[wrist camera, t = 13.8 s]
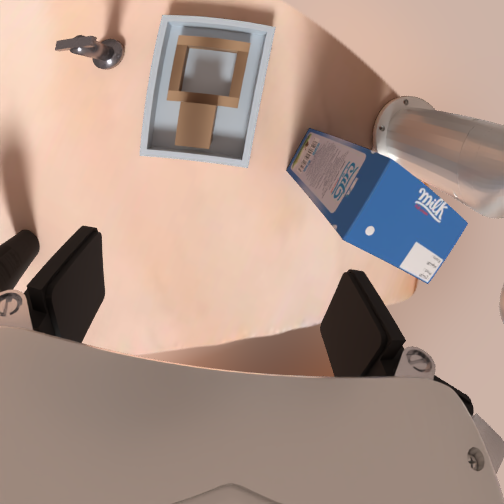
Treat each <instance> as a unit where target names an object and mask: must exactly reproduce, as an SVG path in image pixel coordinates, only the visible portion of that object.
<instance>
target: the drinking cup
mask: <svg viewBox="0 0 504 504" xmlns="http://www.w3.org/2000/svg"><path fill="white" fill-rule="evenodd" d="M38 252H39V242H38V240H37V238H36V236H35V235H34V234H33V233H32V232H30V231H28V230H23V231H21V232H20V233H18V234H16V235H15V236H13V237H12V238H11V239H9V240H8V241H6V242H5V243H3V244H2V245H0V292H3V291H6V290H13V289H14V287H15V285H16V284H17V282H18V281H19V279H20V278H21V277H22V275H23V274H24V272H25V271H26V269H27V268H28V266H29V265H30V264H31V262H32V261H33V259H34V258H35V257H36V255H37V254H38Z"/></svg>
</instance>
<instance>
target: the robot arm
mask: <svg viewBox="0 0 504 504" xmlns="http://www.w3.org/2000/svg"><path fill="white" fill-rule="evenodd" d="M403 101H404V103H403ZM379 127H380V129H379ZM373 146H374V151H375V152H377V153H379V154H381V155H384V156H386V157H389V158H391V159H393V160H394V161H395V162H397V163H398V164H399V165H401V166H402V167H403V168H405V169H406V170H407V171H408V172H410V173H411V174H412V175H414V176H415V177H416V178H417V179H419V180H420V181H424V182H426V183H428V184H430V185H432V186H434V187H435V188H437V189H439V190H441V191H443V192H445V193H446V194H448V195H450V196H451V197H453V198H455V199H457V200H458V201H460V202H461V203H463V204H465V205H466V206H468V207H470V208H471V209H473V210H474V211H476V212H478V213H480V214H481V215H484V216H486V217H489V218H503V217H504V125H501V124H497V123H493V122H489V121H485V120H481V119H476V118H472V117H467V116H462V115H458V114H453V113H447V112H441V111H436V110H435V109H434V108H433V107H432V106H431V105H430V104H429V103H427V102H426V101H424V100H422V99H420V98H417V97H411V96H402V97H398V98H395V99H393V100H391V101H390V102H388V103H387V104H386V105H385V106H384V107H383V109H382V110H381V111H380V113H379V115H378V117H377V119H376V121H375V125H374V130H373ZM104 296H105V286H104V273H103V257H102V235H101V233H100V232H98V230H97V228H94V227H88V226H82V227H81V228H80V229H79V230H77V231H76V232H75V234H74V235H73V236H72V237H71V238H70V239H69V240H68V241H67V242H66V243H65V244H64V245H63V246H62V247H61V248H60V249H59V250H58V251H57V252H56V253H55V254H54V255H53V256H52V258H51V259H50V260H49V261H48V262H47V263H46V264H45V265H44V266H43V268H42V269H41V270H40V271H39V272H38V273H37V274H36V276H35V277H34V278H33V279H32V280H31V281H30V283H29V284H28V285H27V290H26V291H25V292H24V294H23V293H22V292H20V291H18V290H6V291H3V292H0V504H504V498H503V495H502V492H501V488H500V485H499V482H498V479H497V476H496V473H497V471H498V469H499V467H500V465H501V462H502V460H503V458H504V441H503V440H502V438H501V437H500V436H499V435H498V434H497V433H496V432H495V431H494V430H493V429H492V428H491V427H490V426H489V425H488V424H487V423H486V422H485V421H484V420H483V419H482V418H481V417H480V416H479V415H478V414H475V415H474V416H473V405H472V403H471V400H470V398H469V397H468V396H467V395H466V394H464V393H462V392H461V391H459V390H457V389H456V388H454V387H453V386H451V385H449V384H448V383H446V382H445V381H443V380H441V379H440V378H438V377H437V376H435V375H434V374H435V364H434V361H433V359H432V358H431V356H429V354H428V353H426V352H425V351H423V350H422V349H420V348H417V347H407V348H406V349H404V348H403V346H402V345H403V344H404V342H405V341H406V340H405V338H404V336H403V335H402V333H401V331H400V330H399V328H398V326H397V324H396V323H395V321H394V319H393V318H392V316H391V314H390V313H389V311H388V309H387V308H386V306H385V304H384V303H383V301H382V300H381V298H380V296H379V295H378V293H377V292H376V290H375V288H374V287H373V285H372V284H371V282H370V281H369V279H368V277H367V276H366V274H365V273H364V272H363V271H358V270H351V269H350V270H348V271H347V272H345V273H344V274H343V275H342V277H341V280H340V282H339V285H338V287H337V289H336V292H335V294H334V296H333V298H332V301H331V303H330V305H329V307H328V310H327V312H326V314H325V316H324V318H323V320H322V323H321V327H320V331H321V335H322V338H323V341H324V344H325V347H326V350H327V353H328V356H329V360H330V363H331V366H332V369H333V373H334V376H335V377H317V376H292V375H275V374H261V373H249V372H239V371H230V370H221V369H212V368H205V367H198V366H190V365H184V364H178V363H172V362H166V361H159V360H154V359H149V358H144V357H139V356H134V355H129V354H124V353H120V352H115V351H111V350H107V349H103V348H99V347H95V346H91V345H87V344H83V343H82V341H83V339H84V337H85V335H86V333H87V331H88V329H89V327H90V325H91V323H92V321H93V319H94V317H95V315H96V313H97V311H98V309H99V307H100V305H101V303H102V301H103V299H104ZM499 305H500V315H501V319H502V321H503V323H504V285H503V288H502V291H501V295H500V304H499Z"/></svg>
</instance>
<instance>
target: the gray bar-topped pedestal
mask: <svg viewBox="0 0 504 504" xmlns="http://www.w3.org/2000/svg"><path fill="white" fill-rule="evenodd" d="M96 39H97V38H96V37H94V36H87V37H85V36H82V35H79V36H76V37H75V38H73V39H66V40H60V41H57V43H56V48H55V50H56V51H65V50H70V51H71V52H72V53H74V54H78V55H83V56H87V57H90V58H93V62H94V64H95V65H96V66H97V67H98V68H101V69H111V68H114V67H116V66H117V65H118V64H119V63H120V62H121V60H122V59H123V56H124V47H123V45H122V44H121V43H120V42H118V41H116V40H114V39H108V40H105V41H103V42H98V41H96Z"/></svg>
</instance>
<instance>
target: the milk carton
mask: <svg viewBox="0 0 504 504" xmlns="http://www.w3.org/2000/svg"><path fill="white" fill-rule="evenodd" d="M286 171H287V172H288V173H289V174H290V175H291V176H292V178H293V179H294V180H295V181H296V182H297V183H298V185H299V186H300V187H301V188H302V189H303V190H304V192H305V193H306V194H307V195H308V196H309V198H310V199H311V200H312V201H313V202H314V204H315V205H316V206H317V207H318V209H319V210H320V211H321V212H322V214H323V215H324V216H325V217H326V219H327V220H328V221H329V222H330V224H331V225H332V226H333V227H334V229H335V230H336V231H337V232H338V234H339V235H340V236H341V238H342V239H343V240H344V241H346V242H348V243H350V244H352V245H354V246H356V247H358V248H360V249H362V250H364V251H366V252H368V253H370V254H372V255H374V256H376V257H378V258H380V259H382V260H384V261H386V262H388V263H390V264H391V265H393V266H395V267H397V268H399V269H401V270H403V271H405V272H407V273H408V274H410V275H412V276H414V277H416V278H418V279H420V280H421V281H423V282H425V283H427V284H428V283H429V282H430V281H431V279H432V278H433V277H434V275H435V274H436V272H437V271H438V269H439V268H440V267H441V265H442V263H443V262H444V261H445V259H446V258H447V256H448V254H449V253H450V252H451V250H452V248H453V247H454V245H455V244H456V242H457V241H458V239H459V237H460V236H461V234H462V232H463V231H464V229H465V228H466V226H467V224H468V223H467V222H466V221H465V220H464V219H463V218H462V217H461V216H460V215H459V214H458V213H457V212H456V211H454V210H453V209H452V208H451V207H450V206H449V205H448V204H447V203H445V202H444V201H443V200H442V199H441V198H440V197H439V196H438V195H436V194H435V193H434V192H433V191H432V190H431V189H429V188H428V187H427V186H426V185H425V184H423V183H422V182H421V181H420V180H419V179H417V178H416V177H415V176H414V175H412V174H411V173H410V172H408V171H407V170H406V169H405V168H403V167H402V166H401V165H399V164H398V163H397V162H395V161H394V160H393V159H391V158H389V157H386V156H384V155H381V154H379V153H377V152H374V151H372V150H369V149H367V148H364V147H362V146H359V145H356V144H354V143H351V142H348V141H346V140H343V139H340V138H337V137H334V136H332V135H329V134H326V133H323V132H320V131H317V130H314V129H311V128H309V129H308V131H307V133H306V135H305V137H304V139H303V140H302V142H301V144H300V146H299V148H298V150H297V151H296V153H295V155H294V157H293V159H292V161H291V163H290V164H289V166H288V168H287V170H286Z"/></svg>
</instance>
